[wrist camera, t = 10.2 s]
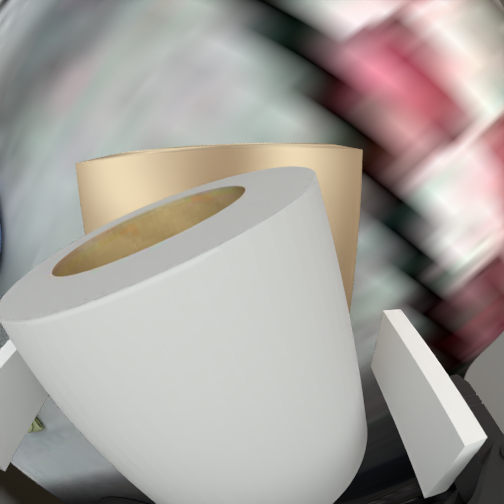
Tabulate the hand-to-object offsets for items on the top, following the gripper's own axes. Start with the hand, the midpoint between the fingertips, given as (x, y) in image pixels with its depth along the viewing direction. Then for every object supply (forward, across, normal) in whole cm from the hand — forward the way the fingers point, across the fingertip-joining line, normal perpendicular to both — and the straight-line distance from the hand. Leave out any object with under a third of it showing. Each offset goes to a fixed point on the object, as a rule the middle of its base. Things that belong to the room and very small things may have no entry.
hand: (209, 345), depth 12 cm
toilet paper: (+4, 0, 0) cm, 4 cm away
